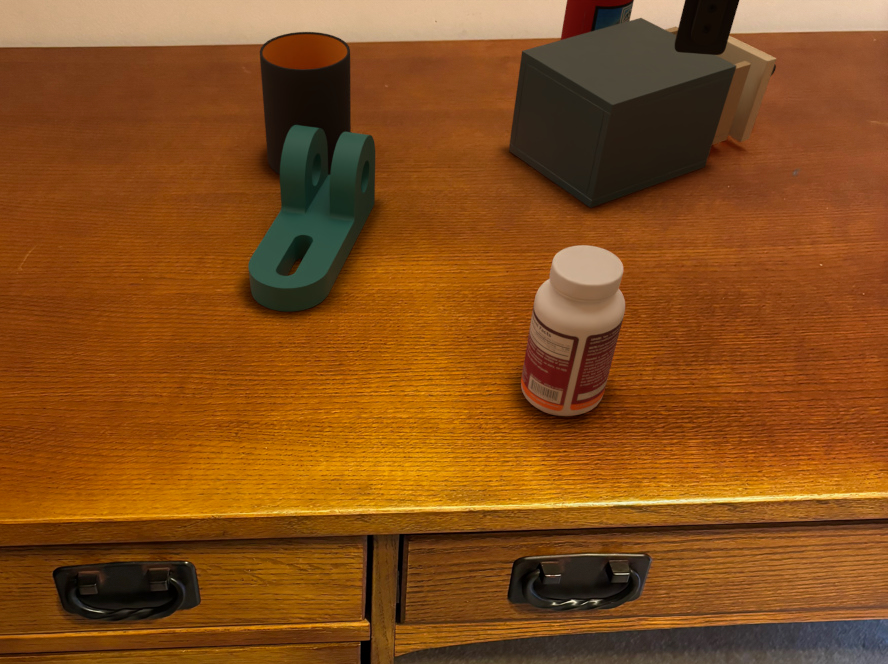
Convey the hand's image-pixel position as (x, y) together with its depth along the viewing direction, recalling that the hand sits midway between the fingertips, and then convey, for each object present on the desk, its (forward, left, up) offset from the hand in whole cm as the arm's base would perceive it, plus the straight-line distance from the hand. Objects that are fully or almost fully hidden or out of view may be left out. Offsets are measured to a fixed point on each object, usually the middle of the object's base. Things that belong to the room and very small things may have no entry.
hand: (696, 21), depth 63 cm
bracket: (+22, -17, -20) cm, 34 cm away
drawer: (-20, -16, -19) cm, 32 cm away
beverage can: (-20, -30, -20) cm, 41 cm away
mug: (+14, -33, -20) cm, 41 cm away
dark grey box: (-11, -16, -20) cm, 28 cm away
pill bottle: (+15, +9, -20) cm, 27 cm away
